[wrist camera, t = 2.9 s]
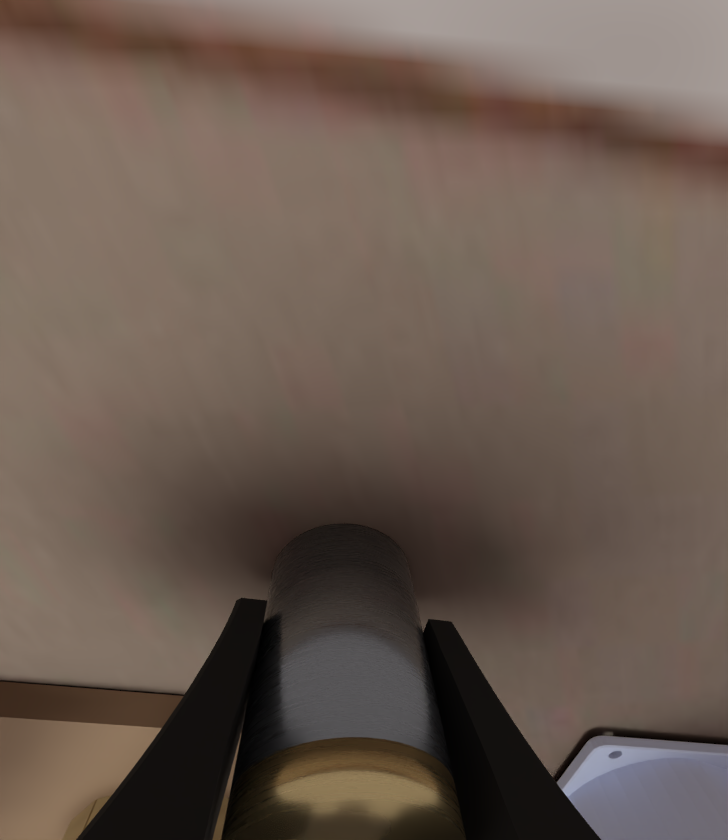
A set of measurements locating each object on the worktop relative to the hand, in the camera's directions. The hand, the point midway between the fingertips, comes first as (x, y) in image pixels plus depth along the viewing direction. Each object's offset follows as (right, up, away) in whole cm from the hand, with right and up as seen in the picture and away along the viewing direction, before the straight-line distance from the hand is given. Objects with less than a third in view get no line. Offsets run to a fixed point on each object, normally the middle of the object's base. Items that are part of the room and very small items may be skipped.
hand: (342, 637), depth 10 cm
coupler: (0, +1, +2) cm, 2 cm away
